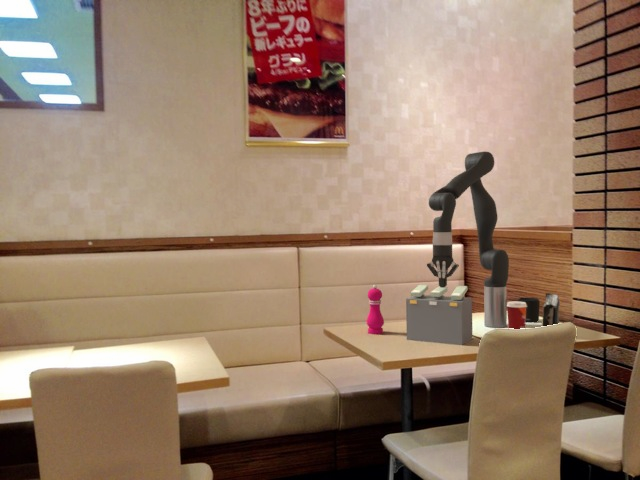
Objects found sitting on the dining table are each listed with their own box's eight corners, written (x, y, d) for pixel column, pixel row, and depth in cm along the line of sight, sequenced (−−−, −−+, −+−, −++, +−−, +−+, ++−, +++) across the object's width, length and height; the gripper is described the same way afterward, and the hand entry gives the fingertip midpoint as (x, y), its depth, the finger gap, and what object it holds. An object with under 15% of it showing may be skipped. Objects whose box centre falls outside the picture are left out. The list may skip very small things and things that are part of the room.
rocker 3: (458, 289, 225) (457, 285, 224) (467, 289, 223) (467, 285, 222) (450, 299, 218) (450, 295, 217) (460, 300, 216) (460, 295, 215)
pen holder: (512, 320, 262) (512, 298, 262) (528, 318, 266) (528, 297, 266) (528, 323, 254) (528, 301, 253) (544, 321, 258) (544, 299, 257)
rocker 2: (438, 290, 229) (438, 286, 229) (447, 291, 227) (447, 286, 227) (430, 296, 222) (430, 291, 221) (439, 296, 220) (439, 292, 219)
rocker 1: (419, 288, 233) (419, 284, 233) (428, 288, 231) (427, 284, 231) (411, 296, 226) (410, 292, 226) (420, 296, 224) (419, 292, 224)
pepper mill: (386, 331, 242) (385, 284, 241) (380, 334, 235) (380, 286, 235) (370, 330, 245) (369, 283, 244) (364, 333, 238) (363, 285, 238)
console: (419, 333, 236) (418, 292, 236) (472, 338, 225) (472, 294, 224) (406, 339, 225) (405, 296, 224) (461, 345, 214) (461, 299, 213)
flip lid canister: (528, 340, 219) (528, 304, 219) (507, 340, 221) (507, 303, 220) (525, 336, 227) (525, 301, 226) (505, 336, 228) (505, 300, 228)
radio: (555, 339, 221) (555, 301, 220) (531, 337, 225) (531, 299, 225) (565, 329, 240) (565, 293, 240) (543, 327, 245) (543, 292, 244)
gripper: (461, 243, 227) (462, 287, 228) (430, 242, 234) (430, 285, 235) (455, 244, 220) (456, 289, 221) (423, 244, 227) (423, 287, 228)
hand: (442, 287), depth 228 cm, fingers closed
